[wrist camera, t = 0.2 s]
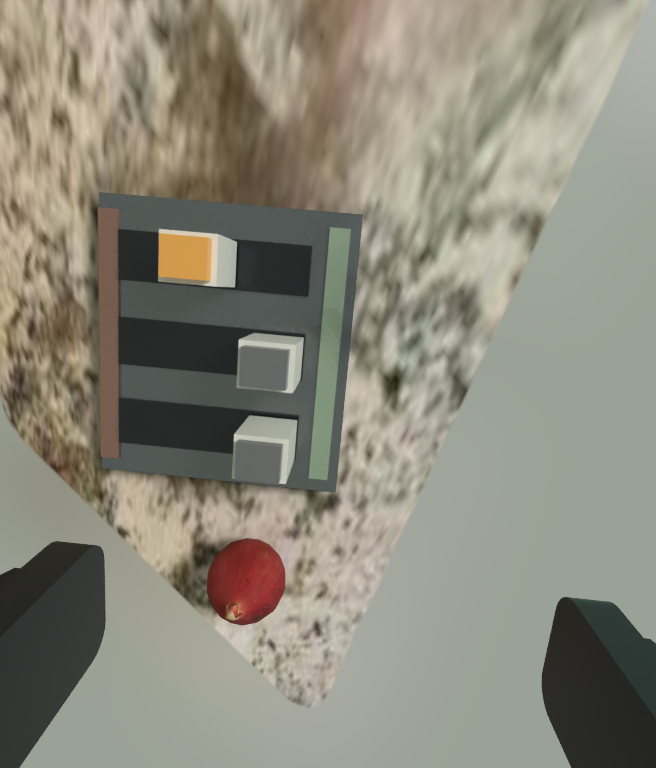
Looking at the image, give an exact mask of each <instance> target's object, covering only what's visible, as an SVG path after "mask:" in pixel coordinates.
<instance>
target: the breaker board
mask: <svg viewBox="0 0 656 768" xmlns="http://www.w3.org/2000/svg"><path fill="white" fill-rule="evenodd" d="M362 218H363V215H360V214H349V213H337V212H325V211H313V210H302V209H290V208H278V207H266V206H255V205H243V204H231V203H219V202H208V201H196V200H184V199H172V198H161V197H149V196H137V195H125V194H114V193H102V192H99V207H98V271H99V360H100V450H101V457H102V468H106V469H116V470H125V471H135V472H144V473H154V474H163V475H173V476H182V477H192V478H202V479H211V480H221V481H230V482H240V483H249V484H259V485H268V486H278V487H287V488H297V489H307V490H316V491H326V492H336V482H337V471H338V461H339V451H340V441H341V431H342V421H343V411H344V400H345V390H346V380H347V370H348V360H349V350H350V340H351V329H352V319H353V309H354V299H355V289H356V279H357V269H358V258H359V248H360V238H361V228H362ZM159 229H166V230H177V231H189V232H200V233H212V234H219V235H222V236H224V237H226V238H229V239H231V240H234V241H236V242H237V256H236V277H235V287H213V286H202V285H191V284H180V283H169V282H158V256H159ZM253 333H261V334H272V335H282V336H293V337H303V338H304V342H303V355H302V368H301V380H300V381H299V383H298V385H297V387H296V388H295V390H294V392H293V393H284V392H273V391H263V390H253V389H243V388H236V384H237V364H238V344H239V339H241V338H243V337H246V336H248V335H250V334H253ZM249 415H251V416H261V417H271V418H281V419H291V420H297V432H296V444H295V457H294V462H293V465H292V468H291V470H290V473H289V476H288V479H287V482H286V484H269V483H260V482H250V481H241V480H234V479H232V465H233V445H234V434H235V432H236V431H237V430H238V429H239V428H240V426H241V425H242V424H243V423H244V421H245V420H246V419H247V418H248V417H249Z"/></svg>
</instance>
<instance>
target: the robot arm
mask: <svg viewBox="0 0 656 768" xmlns="http://www.w3.org/2000/svg"><path fill="white" fill-rule="evenodd" d="M104 572H105V570H104V553H103V550H102V549H101V547H100V546H96V545H87V544H77V543H68V542H59V541H56V542H53V543H50V544H49V545H48V546H46V547H45V548H44V549H43V550H42V551H41V552H39V553H38V554H37V555H36V556H35V557H33V558H32V559H31V560H30V561H29V562H28V563H26V564H25V565H24V566H23V567H22V568H21V569H20V568H13V569H11V570H10V571H7V572H6V573H3V574H1V575H0V768H19V767H20V766H21V764H22V763H23V761H24V760H25V758H26V757H27V756H28V754H29V753H30V751H31V750H32V748H33V747H34V746H35V744H36V743H37V741H38V740H39V738H40V737H41V736H42V734H43V733H44V731H45V730H46V728H47V727H48V725H49V724H50V722H51V721H52V720H53V718H54V716H55V715H56V714H57V712H58V711H59V709H60V708H61V706H62V705H63V704H64V702H65V701H66V699H67V698H68V697H69V695H70V694H71V692H72V691H73V689H74V688H75V686H76V685H77V684H78V682H79V680H80V679H81V678H82V676H83V675H84V673H85V672H86V671H87V669H88V667H89V666H90V665H91V663H92V662H93V660H94V658H95V656H96V654H97V652H98V650H99V647H100V645H101V642H102V638H103V635H104V630H105V573H104ZM542 693H543V700H544V704H545V708H546V711H547V715H548V717H549V719H550V722H551V724H552V726H553V728H554V730H555V732H556V735H557V737H558V739H559V741H560V744H561V746H562V748H563V750H564V752H565V754H566V757H567V759H568V761H569V764H570V766H571V768H656V643H654V642H653V641H652V640H651V639H645V638H643V637H642V636H641V634H640V633H639V632H638V631H637V630H636V629H635V627H634V626H633V625H632V624H631V623H630V621H629V620H628V619H627V618H626V616H625V615H624V614H623V613H622V612H621V610H620V609H619V608H618V607H617V606H616V605H615V604H613V603H611V602H606V601H596V600H587V599H578V598H569V597H564V598H562V599H560V601H559V602H558V604H557V607H556V611H555V616H554V620H553V625H552V630H551V634H550V639H549V644H548V648H547V653H546V657H545V662H544V667H543V672H542Z"/></svg>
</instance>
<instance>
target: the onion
mask: <svg viewBox="0 0 656 768" xmlns="http://www.w3.org/2000/svg"><path fill="white" fill-rule="evenodd" d="M284 590H285V569H284V566H283V563H282V561H281V558H280V556H279V555H278V553H277V552H276V551H275V550H274V549H273V548H272V547H271V546H270V545H269V544H267V543H265V542H263V541H261V540H258V539H249V538H246V539H242V540H238V541H235V542H232V543H230V544H229V545H227V546H226V547H225V548H224V549H222V550H221V551H220V552H219V553H218V555H217V556H216V557H215V559H214V561H213V563H212V564H211V566H210V569H209V572H208V579H207V594H208V597H209V599H210V602H211V605H212V607H213V609H214V610H215V611H216V612H217V613H218V614H219V616H220V617H221V618H222V619H225V620H227V621H228V622H230V623H233V624H238V625H247V624H252V623H256V622H258V621H260V620H262V619H263V618H264V617H266V616H267V615H269V614H270V613H271V612H273V611H274V609H275V608H276V607H277V605H278V603H279V601H280V599H281V597H282V595H283V593H284Z"/></svg>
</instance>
